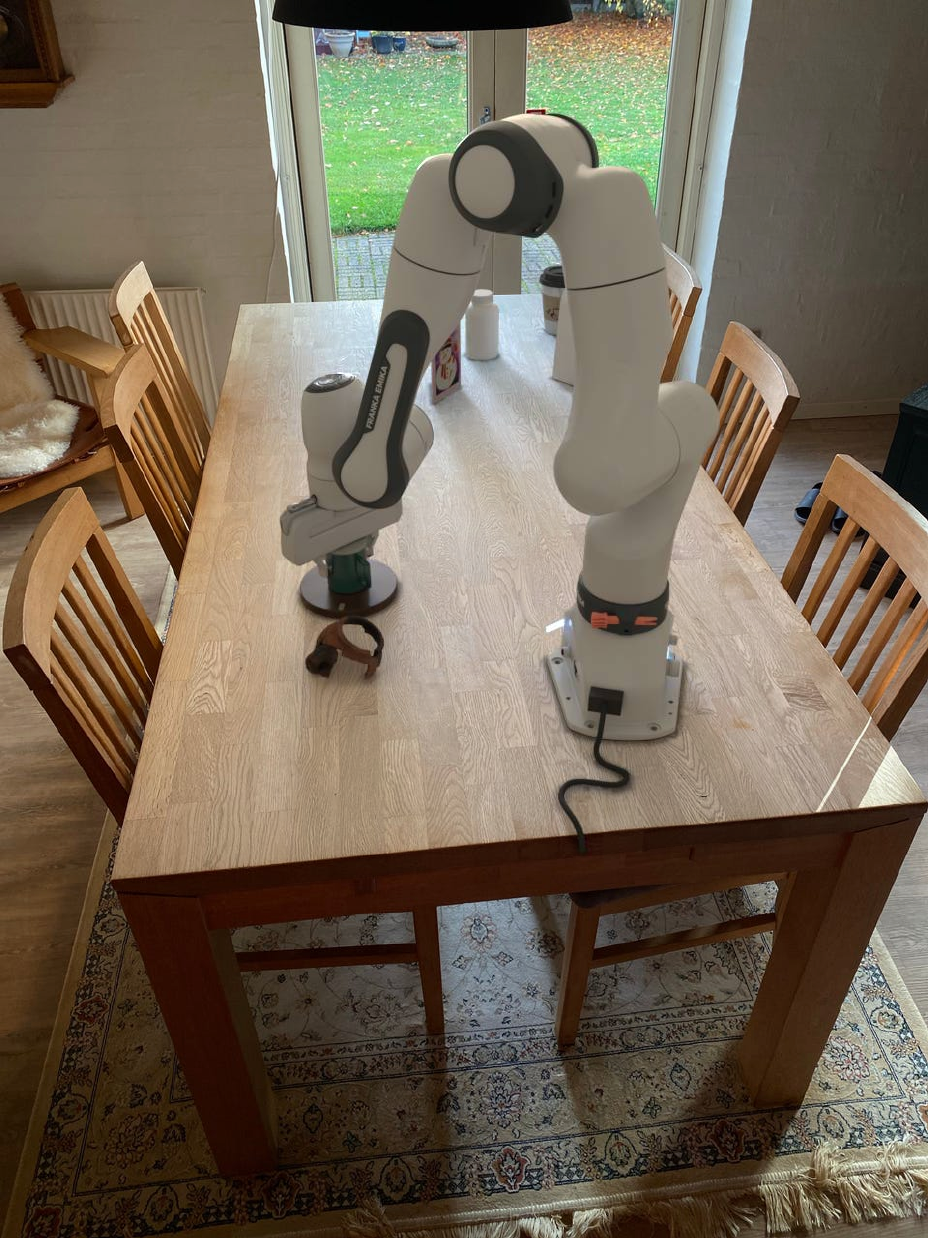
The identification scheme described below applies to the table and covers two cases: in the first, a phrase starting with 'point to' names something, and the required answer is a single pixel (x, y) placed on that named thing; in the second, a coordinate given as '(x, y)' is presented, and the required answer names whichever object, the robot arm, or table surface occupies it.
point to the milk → (564, 346)
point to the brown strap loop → (344, 647)
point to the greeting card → (447, 367)
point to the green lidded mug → (349, 568)
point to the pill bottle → (482, 326)
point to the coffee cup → (552, 296)
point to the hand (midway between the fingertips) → (347, 565)
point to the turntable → (358, 603)
